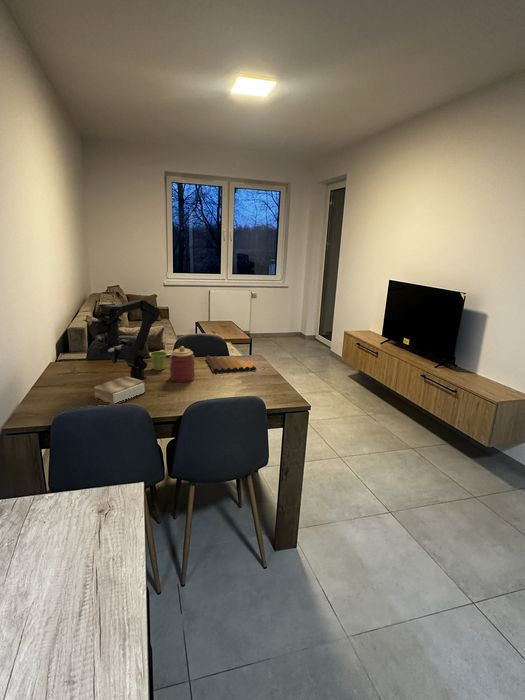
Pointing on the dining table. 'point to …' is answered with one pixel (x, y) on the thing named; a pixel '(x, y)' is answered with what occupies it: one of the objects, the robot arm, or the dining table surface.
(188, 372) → the canister
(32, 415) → the dining table surface
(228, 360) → the scalloped wooden trivet
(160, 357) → the plant pot
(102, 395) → the cabinet
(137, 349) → the robot arm
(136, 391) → the white flat slab piece
